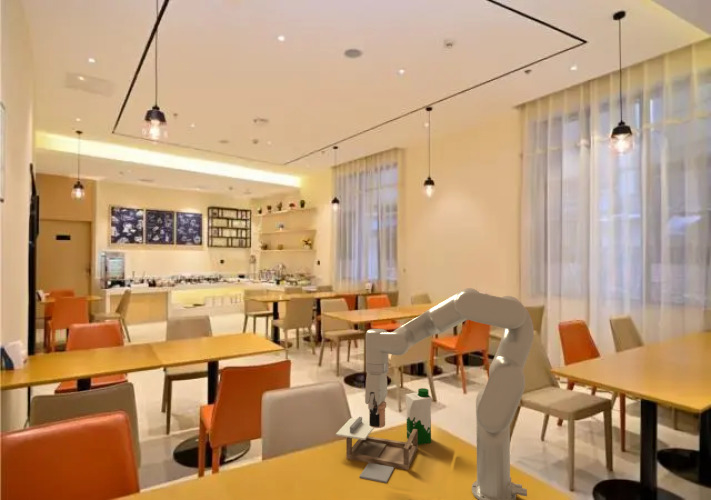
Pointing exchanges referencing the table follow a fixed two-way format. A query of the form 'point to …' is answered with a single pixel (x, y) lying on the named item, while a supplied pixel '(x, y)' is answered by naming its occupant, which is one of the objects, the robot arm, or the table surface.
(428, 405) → the milk carton
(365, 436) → the lid
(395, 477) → the table surface
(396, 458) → the wooden frame crate
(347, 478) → the table surface
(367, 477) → the trivet
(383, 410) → the peach rounded knob
